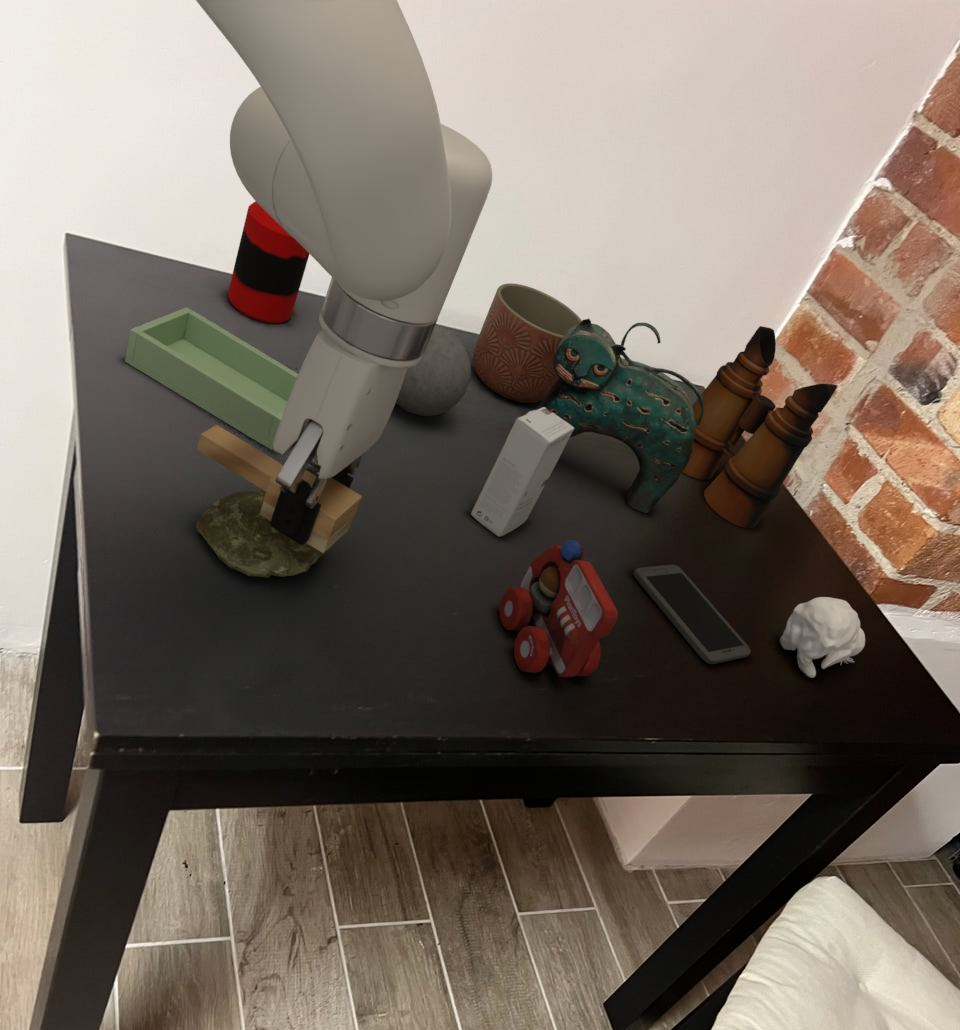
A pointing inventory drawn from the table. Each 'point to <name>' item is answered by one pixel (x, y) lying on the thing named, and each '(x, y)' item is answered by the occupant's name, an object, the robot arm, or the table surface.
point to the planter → (521, 342)
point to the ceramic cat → (625, 406)
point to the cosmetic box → (521, 470)
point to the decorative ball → (436, 376)
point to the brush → (263, 472)
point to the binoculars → (774, 437)
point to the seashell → (252, 538)
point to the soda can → (266, 269)
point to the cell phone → (692, 614)
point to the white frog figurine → (823, 633)
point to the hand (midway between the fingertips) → (305, 518)
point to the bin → (214, 371)
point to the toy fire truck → (559, 613)
